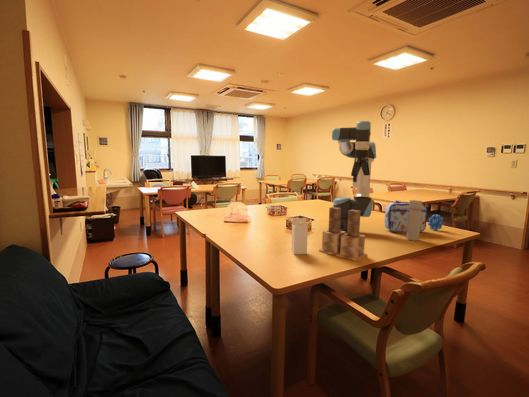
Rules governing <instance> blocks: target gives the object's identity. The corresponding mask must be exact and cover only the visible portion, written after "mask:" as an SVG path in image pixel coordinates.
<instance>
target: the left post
mask: <svg viewBox="0 0 529 397" xmlns="http://www.w3.org/2000/svg"><path fill="white" fill-rule="evenodd" d="M328 211H329V213H328V230H329V232H330V233H335V234H337V233H340V220H341V208H338V207H333V206H331V207H329V210H328Z"/></svg>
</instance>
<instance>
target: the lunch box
mask: <svg viewBox="0 0 529 397" xmlns="http://www.w3.org/2000/svg"><path fill="white" fill-rule="evenodd" d="M409 203H410V201H407V202H406V201H400V200H397V199H396V200H395V202H388V203H387V204H386V205H385V208H384V212H385V213H384V228H385V229H387V230H389V231H390V232H392V233H400V234H401V233H406V234H407V231H406V230H407V227H408V221H407V217H406V215H407V214H408V215H409V209H410V208H409ZM407 208H409V209H408V212H407ZM421 210H422V212H421V223H420V233H422V232H424V231H426V229H427V228H426V227H427V219H428V218H427V217H428V207H427V205H426V204H423V203H422V209H421ZM405 220H406V222H405ZM404 225H405V227H404ZM404 230H405V231H406V232H405V231H404Z"/></svg>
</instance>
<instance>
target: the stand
mask: <svg viewBox="0 0 529 397" xmlns="http://www.w3.org/2000/svg"><path fill="white" fill-rule="evenodd" d="M365 241H366V235H364V234H361V233H359V237H356V238H355V237H350V236H347V232H345V231H340V233H337V234H335V233H330V232H329V229H327V230H324V231H322V244H321V248H320V249H318V251H319V252H320V253H323V254H324V253H325V254H328V255H331V256H334V257H339V258H344V259H347V260H350V261H354V262H358V261H360V260H362V259H364V258H366V256H368V253H367V252H365V243H366V242H365Z"/></svg>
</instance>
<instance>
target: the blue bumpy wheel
mask: <svg viewBox="0 0 529 397" xmlns="http://www.w3.org/2000/svg"><path fill="white" fill-rule="evenodd" d="M444 224H445V222H444V217H442V216H441V215H440V214H433V215H431V217H429V218H428V222H427V226H429V229H430V230H434V231H438V230H441V229H442V227H443V226H444Z"/></svg>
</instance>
